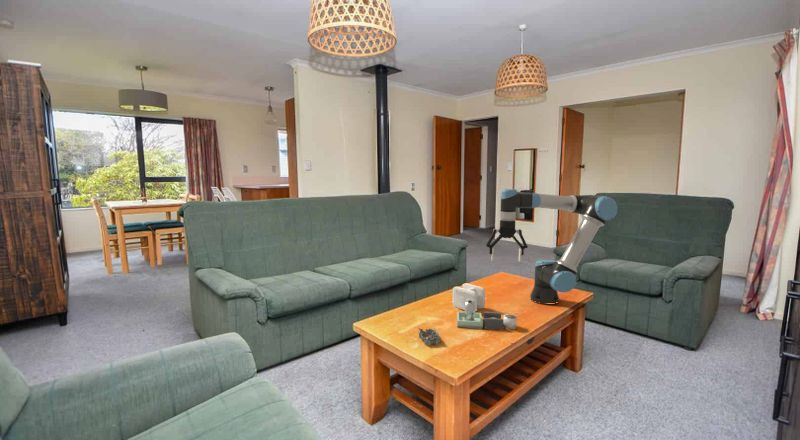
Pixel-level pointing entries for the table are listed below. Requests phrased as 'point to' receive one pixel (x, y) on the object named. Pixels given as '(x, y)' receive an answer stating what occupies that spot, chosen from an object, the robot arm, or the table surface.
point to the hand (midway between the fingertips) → (505, 261)
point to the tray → (469, 324)
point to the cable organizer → (468, 296)
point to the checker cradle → (493, 320)
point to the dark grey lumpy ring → (429, 336)
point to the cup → (509, 321)
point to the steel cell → (469, 310)
